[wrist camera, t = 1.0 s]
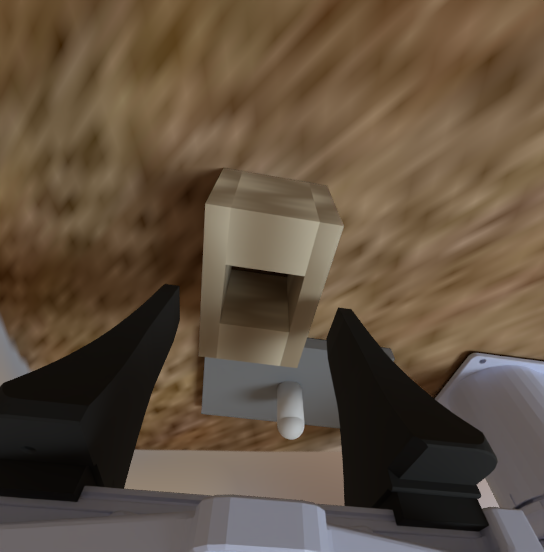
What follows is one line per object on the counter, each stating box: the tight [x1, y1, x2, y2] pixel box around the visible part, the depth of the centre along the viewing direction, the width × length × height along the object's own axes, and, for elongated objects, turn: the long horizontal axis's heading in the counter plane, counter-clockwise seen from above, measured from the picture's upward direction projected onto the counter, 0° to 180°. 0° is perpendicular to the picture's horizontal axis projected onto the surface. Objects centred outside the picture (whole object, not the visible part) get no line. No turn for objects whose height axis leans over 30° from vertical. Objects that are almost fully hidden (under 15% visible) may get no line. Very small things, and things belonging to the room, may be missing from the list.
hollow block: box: [198, 168, 344, 368], centre depth 17 cm, size 6×9×5 cm, turn 171°
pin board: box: [201, 338, 395, 439], centre depth 24 cm, size 14×10×5 cm
